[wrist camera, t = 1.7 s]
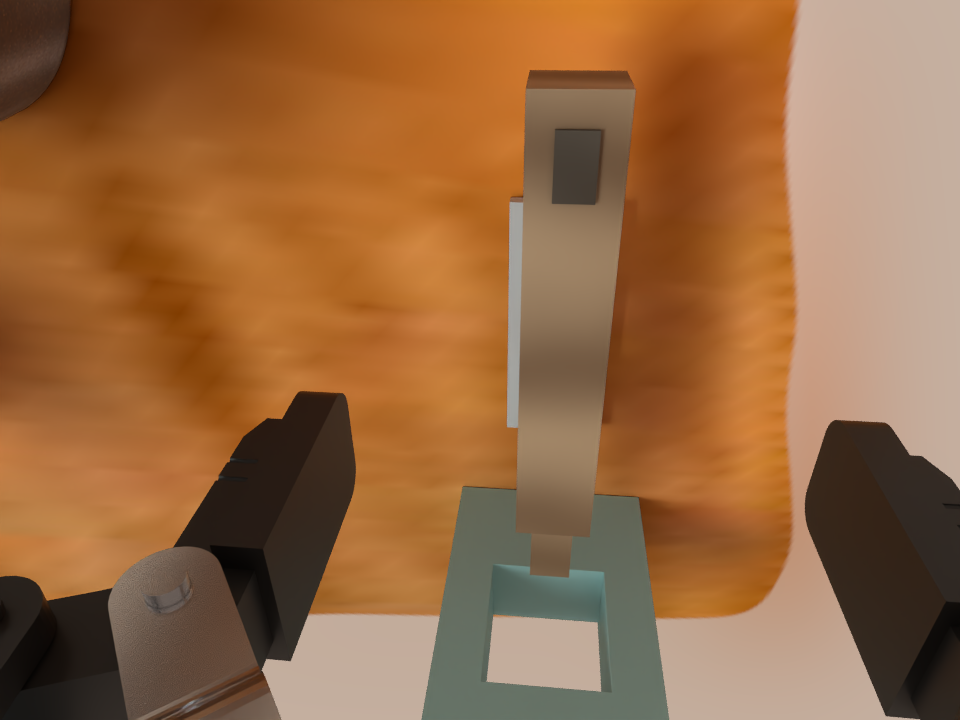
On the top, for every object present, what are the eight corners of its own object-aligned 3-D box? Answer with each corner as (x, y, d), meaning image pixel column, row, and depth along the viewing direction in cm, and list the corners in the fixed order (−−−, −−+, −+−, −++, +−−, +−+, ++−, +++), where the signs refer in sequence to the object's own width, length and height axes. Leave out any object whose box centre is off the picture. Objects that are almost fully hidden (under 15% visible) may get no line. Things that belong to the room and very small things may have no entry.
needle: (530, 70, 20) (525, 89, 18) (627, 70, 20) (636, 90, 17) (518, 534, 30) (514, 588, 28) (582, 538, 30) (584, 593, 27)
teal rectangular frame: (462, 486, 36) (421, 722, 25) (638, 497, 35) (672, 745, 24) (464, 534, 38) (426, 773, 27) (631, 545, 37) (659, 796, 26)
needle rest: (510, 197, 27) (501, 245, 23) (623, 199, 27) (634, 249, 23) (507, 419, 33) (500, 490, 29) (599, 423, 33) (605, 497, 28)
